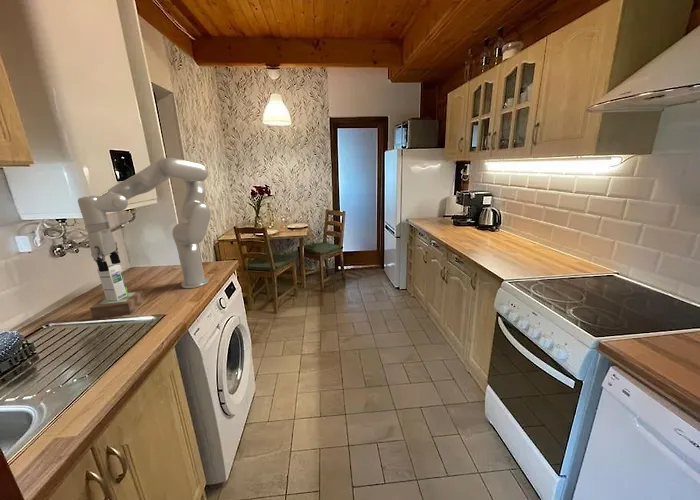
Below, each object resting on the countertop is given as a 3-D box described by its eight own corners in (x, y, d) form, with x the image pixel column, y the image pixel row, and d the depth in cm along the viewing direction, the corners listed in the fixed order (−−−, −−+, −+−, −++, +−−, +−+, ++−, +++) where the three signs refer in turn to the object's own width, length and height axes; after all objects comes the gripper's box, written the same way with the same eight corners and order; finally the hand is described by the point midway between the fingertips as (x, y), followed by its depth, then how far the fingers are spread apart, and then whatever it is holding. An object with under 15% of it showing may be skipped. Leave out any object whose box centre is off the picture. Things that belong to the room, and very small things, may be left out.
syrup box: (117, 301, 133) (108, 268, 129) (105, 300, 134) (96, 268, 131) (129, 295, 139) (120, 263, 135) (117, 295, 140) (109, 263, 136)
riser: (110, 304, 144) (107, 293, 142) (144, 300, 146) (142, 289, 144) (93, 319, 130) (89, 307, 129) (130, 314, 133) (127, 302, 131)
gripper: (99, 223, 136) (111, 261, 141) (74, 233, 120) (88, 275, 125) (119, 222, 137) (129, 259, 142) (96, 231, 121) (109, 273, 126)
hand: (110, 267), depth 133 cm, fingers open, 9 cm apart
